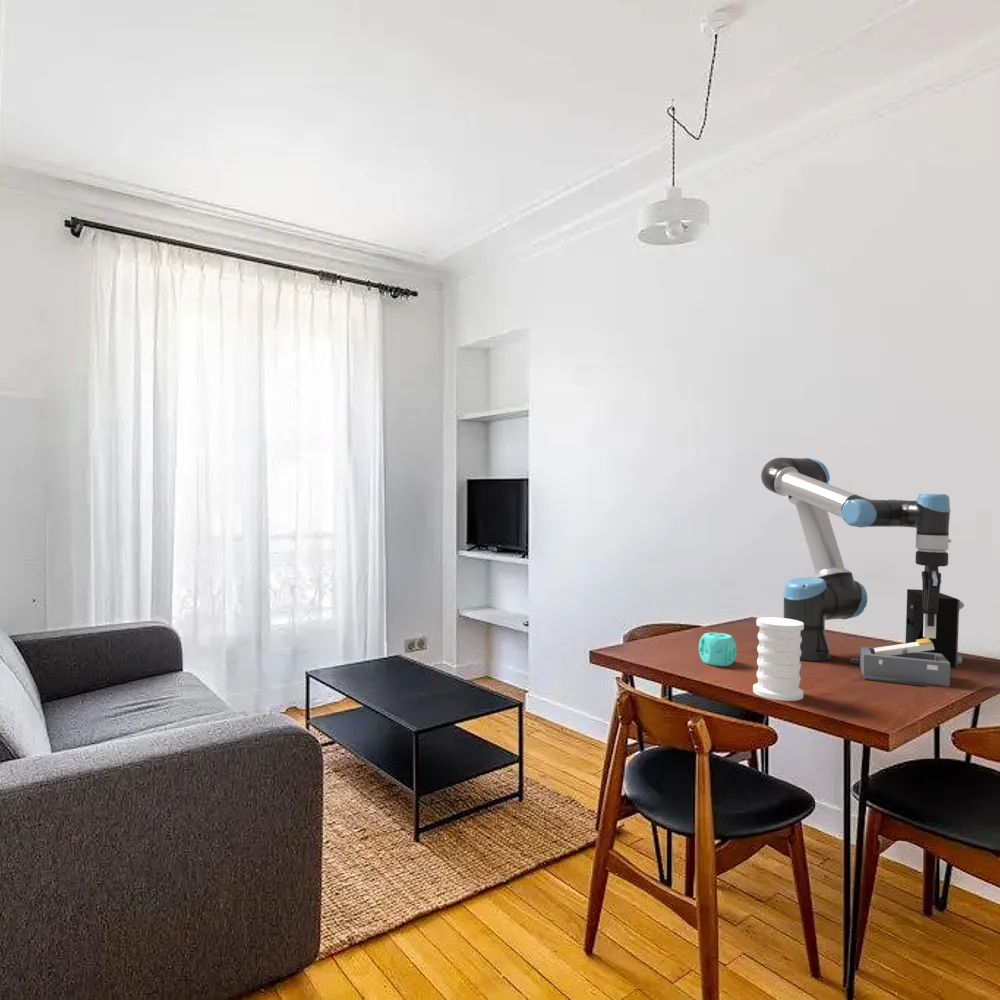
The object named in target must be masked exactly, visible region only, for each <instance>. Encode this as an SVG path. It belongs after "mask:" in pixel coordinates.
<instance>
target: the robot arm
mask: <svg viewBox="0 0 1000 1000" xmlns="http://www.w3.org/2000/svg"><path fill="white" fill-rule="evenodd" d="M760 478H761V482H762V484H763V486H764V487H765V488H766V489H767V490H769V491H770V492H773V493H775V494H776V495H779V496H782V497H785V496H787V497H788V500H789V503H791V504H793V505H795V507H796V511H797V514H798V518H799V521H800V524H801V528H802V531H803V534H804V538H805V542H806V545H807V548H808V551H809V556H810V559H811V561H812V566H813V570H814V572H815V576H814V577H811V576H807V577H796V578H791V579H788V580H787V581H786V582H785V584H784V591H783V618H787V619H793V620H797V621H801V622H803V623H804V629H803V630H801V633H800V636H801V638H802V642H801V644H800V649H801V657H800V661H809V662H810V661H813V662H814V661H815V662H818V661H819V662H822V661H827V660H830V659H831V649H830V646H829V643H828V638H827V636H826V633H825V630H826V629H825V628H826V627H825V625H826V621H828V620H829V621H830V620H847V619H852V618H856V617H859V616H860V615H861V614H862V613H863V612H864V611H865V609H866V607H867V604H868V594H867V590H866V588H865V586H864V585H863V584H862V583H860V582H859V581H856V580H854V576H853V573H852V571H850V570H849V569H847V568H845V564H844V561H843V559H842V554H841V551H840V549H839V545H838V542H837V539H836V535H835V533H834V532H835V531H834V529H833V526H832V523H831V519H830V516H829V513H830V514H833V515H835V516H838V517H841V518H842V520H843V521H844V522H845V524H847V525H849V526H850V527H857V528H868V527H869V528H870V527H871V528H874V527H875V528H876V527H877V528H878V527H883V528H884V527H888V528H891V527H893V528H894V527H895V528H898V527H899V528H900V527H901V528H915V530H916V534H915V549H917V550H916V551H915V564H916V565H919V566H924V570H923V571H921V579H922V581H921V582H922V590H923V606H922V608H923V611H922V613H923V614H924V626H923V637H924V638H935V639H936V614H937V613H938V606H939V593H941V583H942V573H941V572H939V567H948V565H949V553H948V552H947V551H949V543H952V539H951V538H950V537H949V535H950V532H949V530H950V518H951V517H950V515H951V508H950V507H951V505H950V503H951V502H950V497H949V495H947V494H945V493H919V494H918V495H917V499H915V500H904V499H903V500H902V499H870V498H866V497H864V496H861V495H858V494H856V493H853V492H850V491H848V490H845V489H843V488H840V487H837V486H835V485H832V484H830V483H829V482H830V479H831V478H830V471H829V469H828V468H827V466H826V465H825V464H824V463H823V462H822V461H820V460H818V459H815V458H814V459H813V458H810V457H802V458H799V457H797V458H796V457H775V458H772V459H771V460H769V461H768V462H767V463H766V464H765V465H764V466H763V468H762V469H761V473H760Z"/></svg>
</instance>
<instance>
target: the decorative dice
mask: <svg viewBox="0 0 1000 1000" xmlns="http://www.w3.org/2000/svg"><path fill="white" fill-rule="evenodd" d="M737 649H738V648H737V643H736V641H735V639H734V637H733V636H732V635H731V634H728V633H724V632H706V633H705V632H704V634H703V635H701V637H700V639H699V642H698V653H699V657H700V659H701V661H702V663H704V664H707V665H710V666H715V667H727V666H731V665H732V664H733V663H734V662H735V661H736V658H737V651H738V650H737Z"/></svg>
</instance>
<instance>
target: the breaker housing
mask: <svg viewBox="0 0 1000 1000" xmlns="http://www.w3.org/2000/svg"><path fill="white" fill-rule="evenodd" d="M874 648H878V647H877V646H876V647H875V646H866V645H860V648H859V649H860V650H859V651H860V653H859V659H860V664H859V668H860V670H861V671H860V672H861V673H862V676H863V678H864V676H872V677H881V678H890V679H899V680H908V681H916V682H925V685H926V684H927V685H934V686H942V687H950V683H951V682H950V681H951V667H950V663H949V661H948V660H947V659H946V658H945V657H944V656H943V655H942V654H940V653H929V652H914V653H906V654H899V655H892V656H886V655H876V654H875V651H874Z"/></svg>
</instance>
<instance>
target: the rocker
mask: <svg viewBox="0 0 1000 1000" xmlns="http://www.w3.org/2000/svg"><path fill="white" fill-rule="evenodd" d="M928 650H935V649H934V645H933V643H932V642H931V640H930V639H929V638H924V639H917V640H916V642H912V643H906V642H905V643H900V644H899V643H898V644H894V645H892V644H891V645H885V646H879V647H878V648H874V651H875V654H876V655H886V656H892V655H899V654H906V653H914V652H921V651H928Z"/></svg>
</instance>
